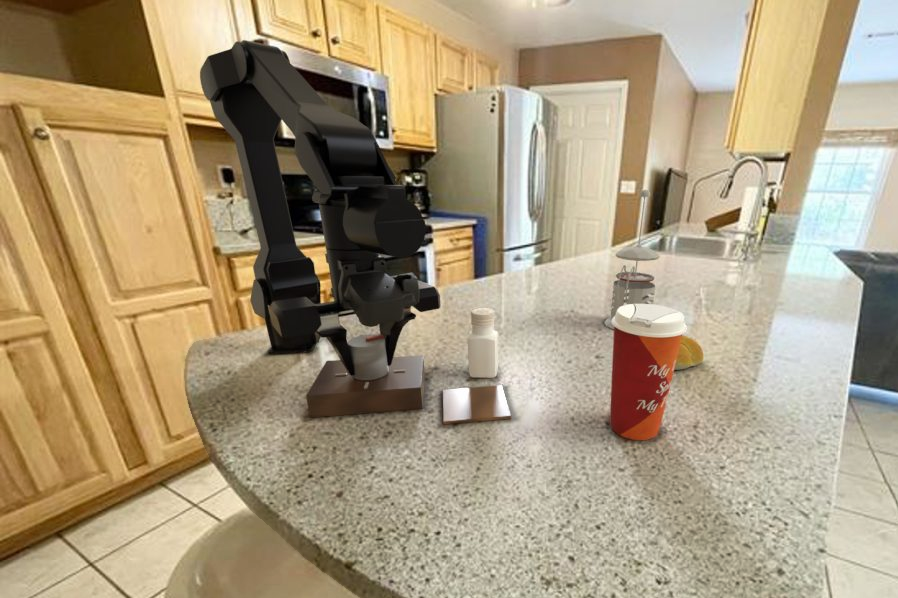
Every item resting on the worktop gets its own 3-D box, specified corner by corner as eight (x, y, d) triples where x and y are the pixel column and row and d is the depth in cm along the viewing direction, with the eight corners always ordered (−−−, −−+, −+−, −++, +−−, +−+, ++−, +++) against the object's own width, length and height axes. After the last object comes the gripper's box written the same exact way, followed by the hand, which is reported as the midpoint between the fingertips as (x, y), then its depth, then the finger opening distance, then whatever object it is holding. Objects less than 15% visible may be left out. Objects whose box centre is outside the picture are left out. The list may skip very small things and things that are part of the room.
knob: (359, 383, 51) (354, 347, 50) (347, 371, 55) (342, 337, 53) (393, 374, 54) (389, 339, 52) (380, 363, 57) (376, 329, 55)
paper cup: (657, 454, 44) (678, 329, 39) (590, 431, 48) (601, 314, 43) (676, 421, 50) (696, 309, 45) (615, 403, 54) (627, 298, 49)
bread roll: (711, 363, 66) (716, 339, 65) (674, 375, 62) (678, 351, 60) (668, 346, 73) (672, 324, 71) (632, 356, 68) (635, 333, 67)
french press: (661, 322, 85) (680, 190, 75) (643, 339, 76) (662, 191, 66) (615, 313, 89) (628, 188, 80) (592, 329, 80) (604, 189, 71)
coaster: (443, 424, 49) (443, 421, 49) (442, 392, 56) (442, 389, 56) (511, 418, 50) (511, 415, 50) (502, 387, 58) (502, 385, 57)
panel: (310, 417, 50) (305, 394, 49) (330, 380, 59) (326, 359, 58) (422, 408, 52) (420, 386, 51) (425, 374, 61) (423, 354, 60)
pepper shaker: (496, 379, 60) (495, 315, 56) (468, 378, 60) (466, 315, 56) (498, 367, 64) (498, 307, 60) (472, 367, 64) (470, 306, 60)
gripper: (276, 267, 37) (309, 420, 43) (460, 248, 48) (465, 372, 54) (254, 250, 45) (284, 381, 51) (416, 237, 56) (424, 346, 62)
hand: (370, 369), depth 54 cm, fingers closed on knob, 4 cm apart
